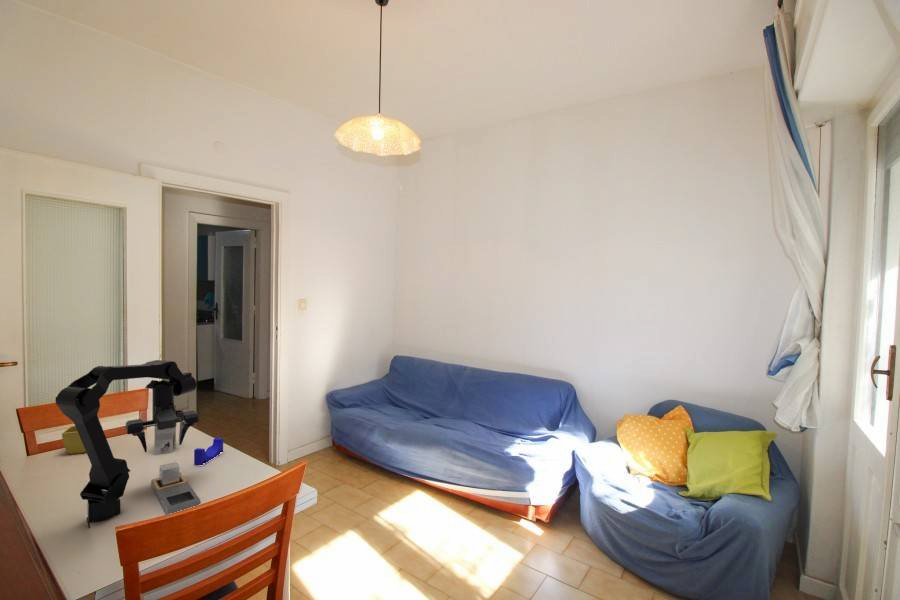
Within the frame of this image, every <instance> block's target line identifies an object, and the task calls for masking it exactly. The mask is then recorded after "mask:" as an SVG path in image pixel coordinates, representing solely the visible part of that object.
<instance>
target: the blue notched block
mask: <svg viewBox="0 0 900 600" xmlns="http://www.w3.org/2000/svg"><path fill="white" fill-rule="evenodd" d="M220 452H223V453H224V438H222V437H215V438H213V442H212V445H210V446H209V447H207V448H206V449H205V448H202V447H200V448H199V447H197V448H194V449H193V453H194V455H193V460H194V461H193V465H203V463H206V462H208V461H209V460H211V459H213V458H214V457H216V456H217V455H219V454H220ZM219 456H220V455H219ZM216 458H217V457H216ZM213 460H214V459H213ZM211 461H212V460H211ZM208 463H209V462H208ZM206 464H207V463H206ZM203 466H204V465H203Z"/></svg>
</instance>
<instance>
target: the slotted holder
mask: <svg viewBox="0 0 900 600" xmlns="http://www.w3.org/2000/svg"><path fill="white" fill-rule="evenodd" d="M150 486H151V489H152V490H153V492H154V494H155V495H156V497H157V499H158V501H159V503H160V505H161V506H162V509H163V510H164V512H165V515H167V514H170V513H174V512H177V511H180V510H184V509H187V508H190V507H193V506H197V505H199V504H201V499H200V497H199V495H197V493H196V491H195V490H194V489H193V487H192V486H191V485H190V483H189V482H188V481H187V479H186V478H185V477H184V475H183V474H182V472H180V483H176V484H172V485H169V486H165V487H161V488H160V477H157V478H153V479H151V482H150Z"/></svg>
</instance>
